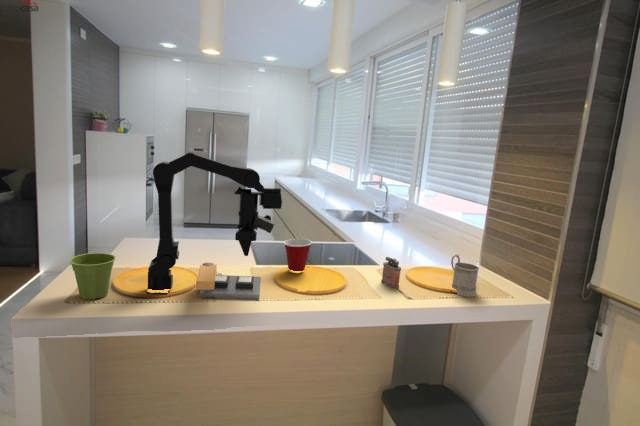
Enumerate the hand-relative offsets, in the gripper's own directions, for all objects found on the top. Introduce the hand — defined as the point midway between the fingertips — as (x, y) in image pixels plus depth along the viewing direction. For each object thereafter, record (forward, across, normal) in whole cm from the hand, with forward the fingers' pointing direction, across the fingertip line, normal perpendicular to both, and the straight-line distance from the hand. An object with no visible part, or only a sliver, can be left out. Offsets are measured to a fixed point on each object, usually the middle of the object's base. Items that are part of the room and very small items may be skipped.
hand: (246, 255), depth 135 cm
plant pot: (+11, -10, +43) cm, 46 cm away
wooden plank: (+6, -7, +11) cm, 15 cm away
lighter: (+12, +9, -52) cm, 54 cm away
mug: (+12, +7, -78) cm, 79 cm away
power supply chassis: (+11, -1, +4) cm, 12 cm away
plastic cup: (+12, +20, -18) cm, 29 cm away
